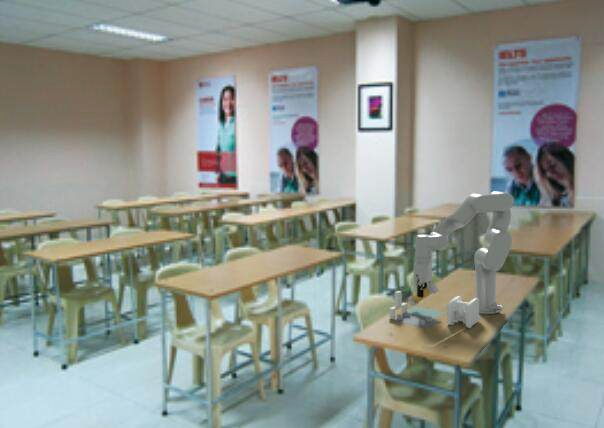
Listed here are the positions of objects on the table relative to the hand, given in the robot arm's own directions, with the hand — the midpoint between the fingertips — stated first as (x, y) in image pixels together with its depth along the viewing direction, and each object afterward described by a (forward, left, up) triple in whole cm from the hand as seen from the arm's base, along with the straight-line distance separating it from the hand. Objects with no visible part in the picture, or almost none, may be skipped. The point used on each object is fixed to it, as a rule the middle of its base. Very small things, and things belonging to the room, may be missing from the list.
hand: (423, 295), depth 253 cm
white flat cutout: (+6, +13, -9) cm, 17 cm away
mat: (0, 0, -9) cm, 9 cm away
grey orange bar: (-1, 0, -1) cm, 2 cm away
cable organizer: (-22, +2, -10) cm, 24 cm away
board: (-3, +13, -9) cm, 16 cm away
